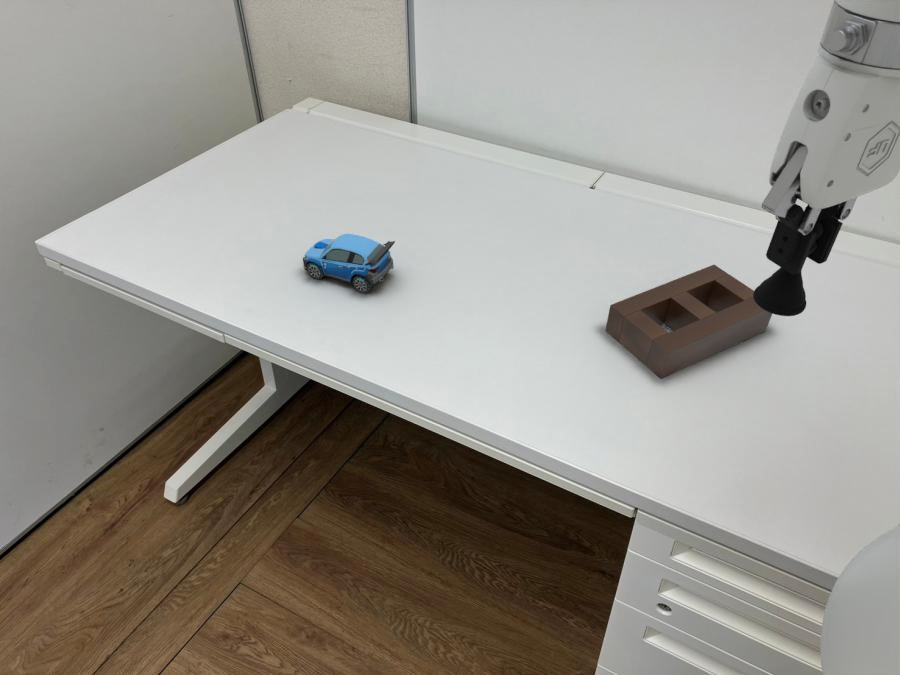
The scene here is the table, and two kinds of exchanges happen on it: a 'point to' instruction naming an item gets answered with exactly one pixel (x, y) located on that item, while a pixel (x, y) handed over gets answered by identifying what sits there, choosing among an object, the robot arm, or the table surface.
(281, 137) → the table surface
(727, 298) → the socket base
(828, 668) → the robot arm
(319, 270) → the toy car
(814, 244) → the chess piece
